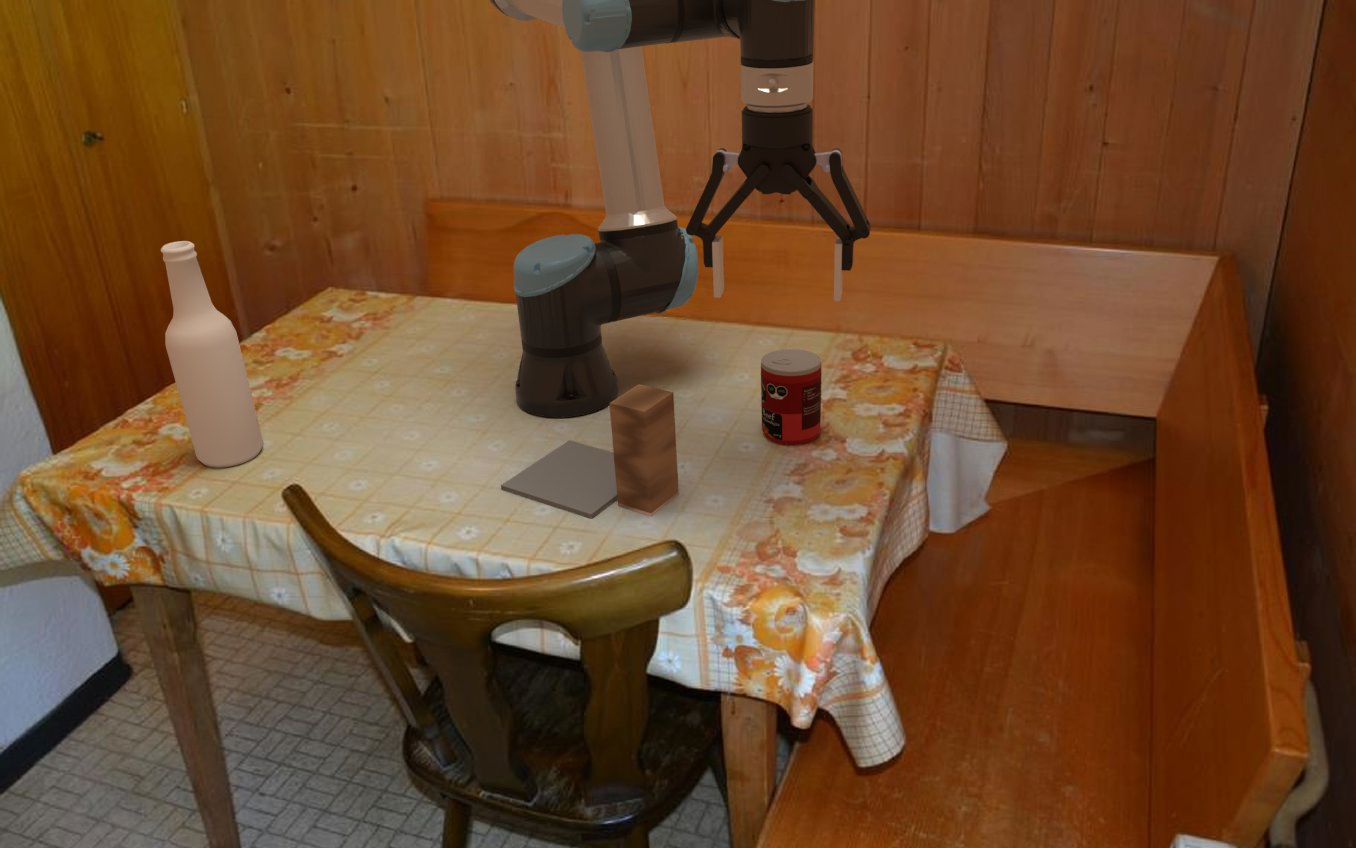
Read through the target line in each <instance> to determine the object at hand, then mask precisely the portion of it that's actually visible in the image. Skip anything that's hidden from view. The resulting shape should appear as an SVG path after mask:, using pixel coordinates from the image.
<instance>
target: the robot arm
mask: <svg viewBox="0 0 1356 848" xmlns="http://www.w3.org/2000/svg"><path fill="white" fill-rule="evenodd" d="M488 1H489V2H490V3H491V5H493V7H494V8H495V9H496V10H497V11H499V12H500V13H502V14H504V15H505V16H507V17H510V18H513V19H515V20H519V21H522V22H523V21H524V22H526V21H527V22H529V21H530V22H531V21H535V20H542V21H544V22H547V23H550V24H552V25H555V26H558V27H560V28H563V29H565V32H566V35H567V37H568V39H569V40H570V42H571V44H572V46H574V49H576V50H578V51H580V57H581V63H582V69H583V75H584V77H583V78H584V81H585V82H584V83H585V88H586V95H587V102H588V107H589V114H590V121H591V126H592V132H593V133H592V134H593V138H594V145H595V151H596V157H597V164H598V172H599V177H600V185H601V190H602V196H603V203H604V208H605V209H604V210H605V216H604V219H603V221H602V222H601V223H600V224H599V226H598V227H597V230H598V238H599V241H598V242H594V240H593V239H592V238H591V237H590V236H587V235H585V234H580V233H571V234H568V235H565V234H559V235H553V236H549V237H545V238H542V239H540V240H538V241H537V240H536V241H535V242H532V243H531V244H528V245H527V246H526V247H524V248H523V249H522V250H521V251H520V252H519V253H518V254H517V255H516V257H515V259H514V262H513V281H514V282H513V290H514V291H513V292H514V294H515V297H516V305H517V315H518V322H519V332H520V338H521V339H520V340H521V346H522V354H521V357H520V361H519V362H520V364H519V368H518V373H517V379H516V382H515V388H514V389H515V397H516V404H517V405H518V406H519V408H520V409H521V410H523V411H524V412H527V413H528V414H532V415H535V416H539V417H545V418H546V417H547V418H570V417H579V416H583V415H588V414H592V413H594V412H595V413H596V412H597V411H599V410H602V409H604V408H606V407H608V406H610V404H609V403H610V402H612V401H613V400H615V399H617V398H618V394H619V389H618V388H619V387H618V378H617V375H616V373H615V371H614V369H613V368H612V367H611V363H610V360H609V358H608V354H607V353H606V350H605V348H604V345H603V339H602V325H605V324H608V323H609V324H610V323H615V322H619V321H624V320H628V319H631V318H636V317H637V318H638V317H642V316H645V315H651V314H655V313H656V314H663V313H666V311H670V310H672V309H677V308H680V307H683V306H684V305H686V304H687V303H688V302H689V301H690V300H691V298H692V296H693V294H694V292H695V290H696V289H697V288H696V287H697V284H698V278H699V255H698V250H697V245H696V244H695V243H694V237H693V236H695V237H698V238H699V239H701V242H702V251H703V253H702V254H703V257H702V258H703V265H704V267H705V268H712V280H713V281H712V282H713V283H712V284H713V287H712V288H713V298H717V299H718V298H721V297H722V295H723V293H724V291H725V272H724V271H725V270H724V238H723V234H722V235H721V234H720V235H719V234H717V233H718V232H719V231H720V230H721V229H722V228H723V227H724V225H725V224H726V223H727V222H728V220H729V219H730V218H731V217H732V216H733V215H734V214H735V212H737V210H738V208H740V206H741V205H742V204H743V203H744V202H745V200H746V199H747V198H748V197H749V196H750V195H751V194H752V193H753V192H754V190H755V189H756V191H758V192H759V193H761V194H762V195H771V194H772V195H773V194H775V193H777V194H781V195H792V193H795V192H798V193H799V194H800V195H801V196H802V198H803V199H805V200H807V202H808V203H809V204H810V206H812V208H813V209H814V210H815V211H816V212H817V213H818V215H819V216H820V217H821V218H822V219H823V221H824V222H825V223H826V225H828V226H829V228H830V229H831V230H832V231H833V233H834V234H835V235H836V236H837V237H836V239H835V241H834V242H835V243H834V262H833V263H834V265H833V266H834V267H833V269H834V274H833V278H834V279H833V302H841V301H842V300H841V299H842V295H843V272H844V271H845V272H846V271H850V272H851V270H852V268H853V264H854V245H855V244H854V243H855V242H856V241H857V240H860V239H867V238H868V237H870V233H871V223H870V220H869V219H868V216H867V215H866V213H865V211H864V209H863V207H862V204H861V202H860V199H859V198H858V195H857V194H856V192H855V190H854V188H853V185H852V184H851V183H852V182H851V181H850V179H849V177H848V175H847V173H846V171H845V168H844V159H843V152H842V149H840V148H838V147H837V148H833V149H832V150H831V151H825V152H817V153H816V151H815V149H814V145H813V143H814V142H813V138H814V135H813V134H814V133H813V132H814V131H813V129H814V127H813V126H814V108H813V107H812V106H811V105H810V104H809V103H810V102H812V100H813V99H814V68H815V67H814V64H815V63H814V62H815V61H814V47H815V46H814V45H815V43H814V41H815V39H814V37H815V3H816V2H815V1H816V0H488ZM719 38H733V39H737V40H739V44H740V94H741V95H740V100H741V102H742V103H743V104H745V106H744V107H743V109H742V110H741V150H740V153H739V152H733V151H727V149H726V148H723V147H720V148H719V149H717V151H716V152H715V153H714V155H713V156H712V163H711V164H712V165H711V173H710V175H709V178H708V180H707V183H706V185H705V187H704V189H703V191H702V194H701V196H700V198H699V200H698V202H697V205H696V206H695V209H694V211H693V213H692V215H691V216H690V219H689V221H688V224H687V226H686V228H684V227H682V226H679V225H678V217H677V216H676V215H675V214H674V213H673V212H671V211H670V210H669V209H667V207H666V206H665V200H664V192H663V186H662V179H661V172H660V164H659V158H658V151H657V150H658V149H657V145H656V144H657V143H656V137H655V130H654V125H653V124H654V123H653V117H652V116H653V115H652V110H651V102H650V97H649V89H648V81H647V74H646V69H645V61H644V54H643V48H642V47H646V46H647V47H648V46H654V45H661V44H672V43H673V44H674V43H683V42H694V41H702V40H710V39H719ZM735 165H738V167H739V169H740V170H741V171H742V174H743V173H744V175H745V176H746V178H745V180H744V181H743V182H742V183H741V185H740V186H739V188H738V189H737V190H736V191H735V192H734V193H733V195H732V196H731V197H730V198H729V200H727V202H726V203H725V204H724V205H723V207H722V208H721V209H719V212H717V213H716V215H715V216H714V217H713V219H712V220H711V221H710V222H709V223H708V224H706V223H704V222H703V220H704V219H705V217H706V216H707V215H706V214H707V212H708V210H709V208H710V207H711V203H712V202H713V199H714V198H715V195H716V193H717V192H718V191H717V190H718V189H719V187H720V185H721V182H722V181H723V178H724V176H725V173H727V174H728V173H729V172H730V171H731V170H732V169H733V166H735ZM816 165H818V166H820V167H821V168H822V169H823V171H824V173H826V174H829V175H830V178H831V180H832V183H833V185H834V187H835V189H836V191H837V193H838V196H839V197H840V199H841V201H842V203H843V206H844V208H845V209H846V212H847V213H848V216H849V218H850V220H851V222H852V224H853V226H851V225H850V223H849V222H848V221H847V220H846V219H845V217H844V216H843V215H842V214H841V213H840V212H839V211H838V209H837V208H836V207H835V205H833V203H832V202H831V201H830V200H829V198H828V197H827V195H825V194H824V193H823V191H822V190H821V188H819V186H818V185H817V183H816V181H814V180H815V179H813V178H812V176H811V175H810V174H811V172H812V171H813V170H814V168H815V167H816Z"/></svg>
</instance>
